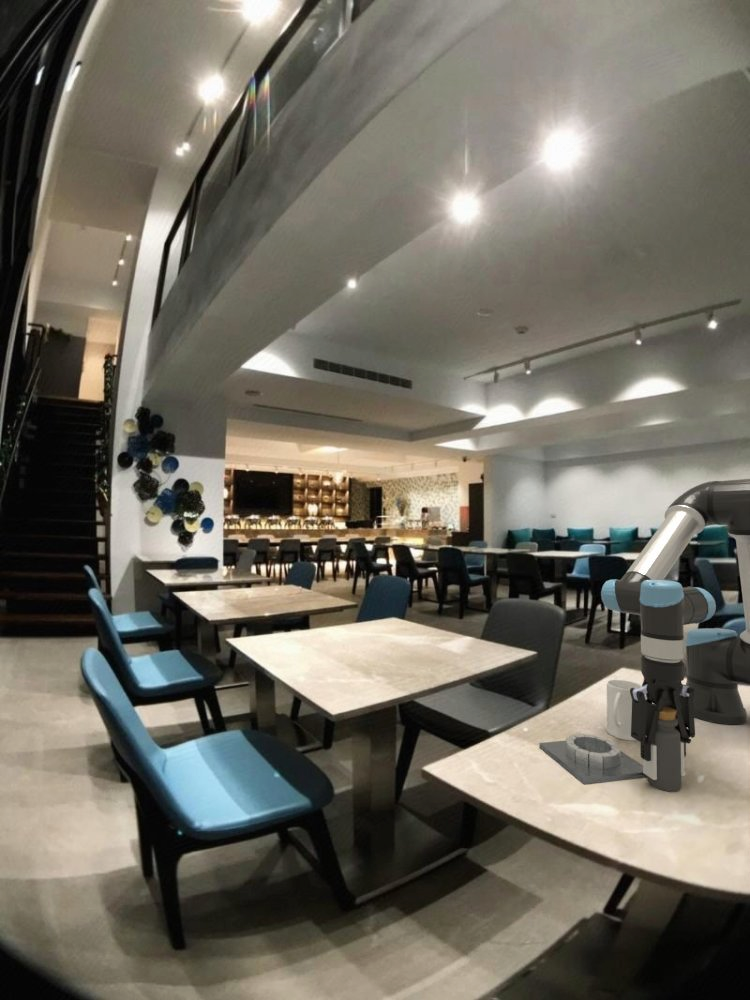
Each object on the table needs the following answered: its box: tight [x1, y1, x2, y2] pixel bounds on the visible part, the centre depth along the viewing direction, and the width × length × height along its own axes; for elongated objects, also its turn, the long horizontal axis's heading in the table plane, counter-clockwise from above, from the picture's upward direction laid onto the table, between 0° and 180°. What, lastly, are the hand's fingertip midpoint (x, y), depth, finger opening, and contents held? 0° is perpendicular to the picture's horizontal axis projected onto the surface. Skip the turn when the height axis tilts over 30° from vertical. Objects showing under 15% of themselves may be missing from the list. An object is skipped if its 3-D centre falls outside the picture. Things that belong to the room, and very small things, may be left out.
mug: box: [605, 679, 642, 742], centre depth 118 cm, size 12×8×12 cm
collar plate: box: [538, 733, 647, 785], centre depth 105 cm, size 16×16×4 cm
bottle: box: [646, 703, 682, 793], centre depth 96 cm, size 6×6×15 cm
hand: (663, 774), depth 96 cm, fingers closed on bottle, 6 cm apart
